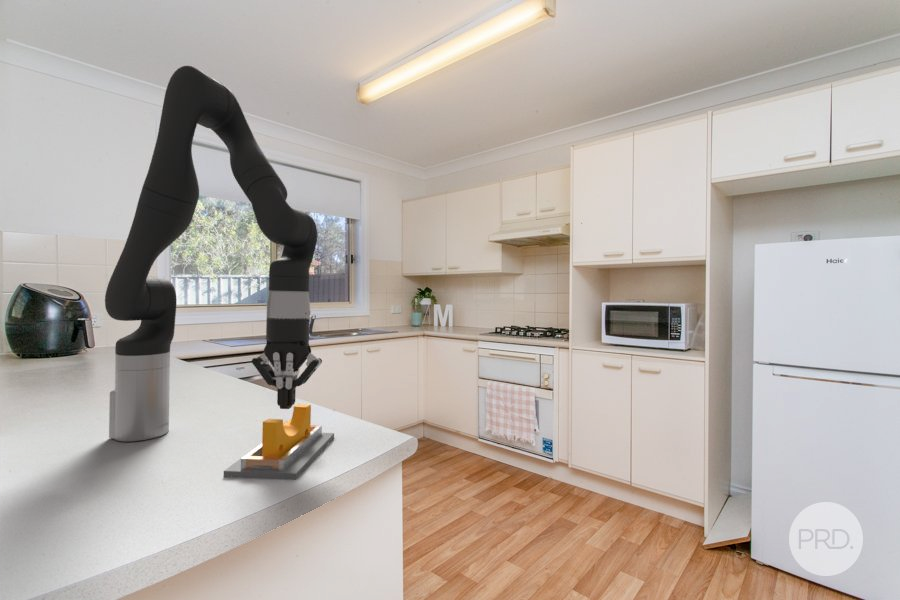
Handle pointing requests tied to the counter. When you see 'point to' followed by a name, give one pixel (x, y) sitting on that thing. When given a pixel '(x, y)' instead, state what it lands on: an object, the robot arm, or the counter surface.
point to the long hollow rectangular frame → (260, 462)
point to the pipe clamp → (285, 432)
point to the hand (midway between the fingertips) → (286, 407)
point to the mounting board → (292, 470)
